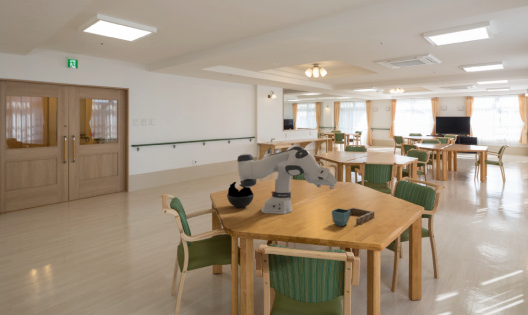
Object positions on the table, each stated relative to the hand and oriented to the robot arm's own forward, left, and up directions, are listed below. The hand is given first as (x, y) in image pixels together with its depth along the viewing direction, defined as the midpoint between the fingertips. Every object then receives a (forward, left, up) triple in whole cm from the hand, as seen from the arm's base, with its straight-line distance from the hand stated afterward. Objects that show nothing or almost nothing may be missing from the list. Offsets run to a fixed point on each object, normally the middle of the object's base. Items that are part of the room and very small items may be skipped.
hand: (325, 187), depth 190 cm
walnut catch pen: (+24, +22, -26) cm, 41 cm away
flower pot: (+12, +10, -26) cm, 30 cm away
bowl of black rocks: (-53, +54, -26) cm, 80 cm away
